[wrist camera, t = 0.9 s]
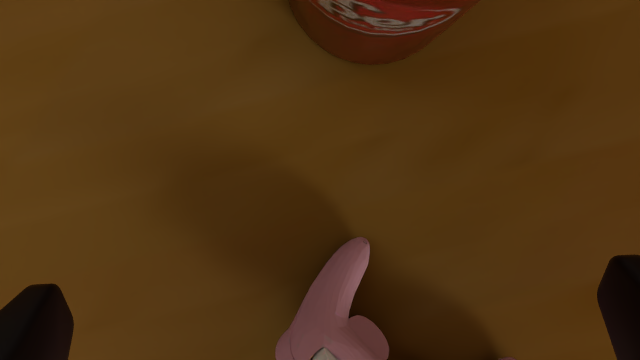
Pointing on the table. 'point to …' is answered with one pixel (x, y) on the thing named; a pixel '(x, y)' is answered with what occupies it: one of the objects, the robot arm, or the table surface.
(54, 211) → the table surface
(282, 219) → the table surface
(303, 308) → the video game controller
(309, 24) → the soda can
